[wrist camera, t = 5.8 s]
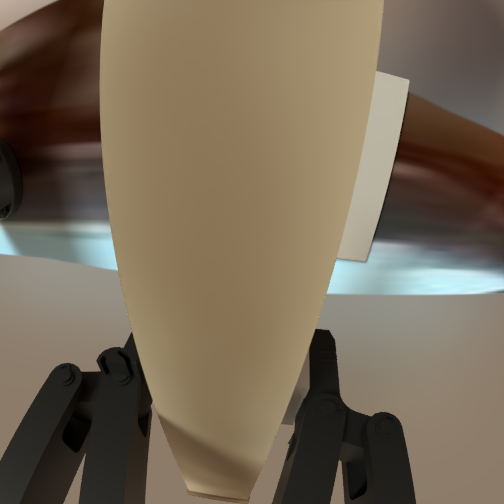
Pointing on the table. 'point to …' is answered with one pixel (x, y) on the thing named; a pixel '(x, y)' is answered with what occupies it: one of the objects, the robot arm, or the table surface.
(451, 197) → the table surface
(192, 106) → the rail
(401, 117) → the mat
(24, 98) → the table surface
